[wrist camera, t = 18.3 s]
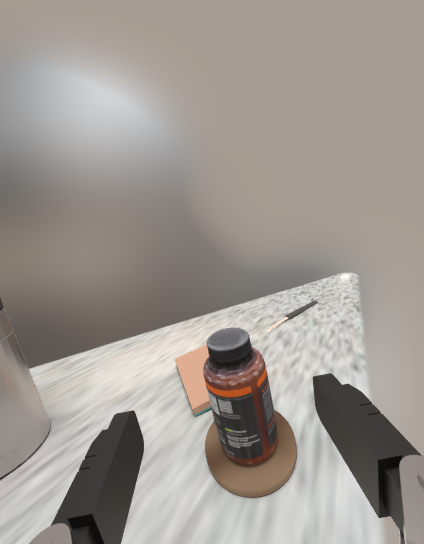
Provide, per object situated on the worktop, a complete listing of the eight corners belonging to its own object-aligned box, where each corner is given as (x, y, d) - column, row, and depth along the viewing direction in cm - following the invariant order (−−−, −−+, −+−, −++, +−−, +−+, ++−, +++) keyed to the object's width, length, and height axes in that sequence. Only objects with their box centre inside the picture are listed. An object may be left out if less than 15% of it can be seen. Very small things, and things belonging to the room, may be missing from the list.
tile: (248, 379, 30) (216, 339, 41) (192, 409, 27) (174, 359, 39) (250, 386, 30) (218, 345, 41) (195, 416, 28) (176, 365, 39)
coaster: (190, 446, 24) (188, 440, 24) (248, 397, 29) (247, 392, 29) (252, 527, 17) (250, 519, 17) (315, 443, 22) (314, 436, 22)
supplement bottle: (268, 408, 26) (252, 317, 24) (288, 460, 20) (270, 346, 18) (217, 419, 26) (196, 329, 24) (223, 475, 20) (196, 362, 18)
